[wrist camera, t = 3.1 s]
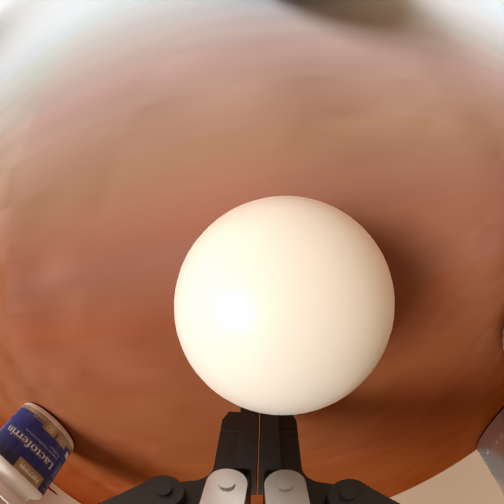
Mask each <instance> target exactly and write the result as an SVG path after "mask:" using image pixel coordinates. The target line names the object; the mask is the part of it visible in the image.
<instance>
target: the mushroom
mask: <svg viewBox="0 0 504 504" xmlns="http://www.w3.org/2000/svg"><path fill="white" fill-rule="evenodd" d="M502 343H503V349H504V327H503V331H502Z"/></svg>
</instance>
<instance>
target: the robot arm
mask: <svg viewBox="0 0 504 504" xmlns="http://www.w3.org/2000/svg"><path fill="white" fill-rule="evenodd" d="M258 439H259V413H258V412H255V411H251V410H248V409H245V408H243V407H241V412H228V414H227V415H226V416H225V417H224V419H223V420H222V425H221V431H220V436H219V442H218V448H217V453H216V459H215V464H214V468H213V470H212V472H211V473H210V474H209V475H208V476H206V477H205V478H203V479H200V480H196V481H188V482H179V481H178V480H177V479H175V478H173V477H170V476H156V477H153V478H151V479H149V480H147V481H145V482H144V483H142V484H140V485H138V486H136V487H134V488H132V489H130V490H128V491H125V492H123V493H121V494H119V495H117V496H115V497H112V498H110V499H108V500H106V501H103V502H101V503H98V504H251V495H256V492H257V467H258ZM477 450H478V452H479V453H480V455H481V456H482V458H483V460H484V461H485V463H486V465H487V466H488V468H489V470H490V471H491V473H492V475H493V477H494V478H495V480H496V482H497V483H498V485H499V487H500V489H501V491H502V492H503V494H504V408H503V409H502V411H501V412H500V413H499V414H498V415H497V416H496V418H495V419H494V420H493V421H492V423H491V424H490V425H489V426H488V428H487V429H486V430H485V432H484V433H483V435H482V436H481V438H480V440H479V442H478V444H477ZM258 495H263V504H399V503H397V502H396V501H394V500H392V499H390V498H388V497H386V496H384V495H383V494H381V493H379V492H377V491H376V490H374V489H372V488H370V487H369V486H367V485H365V484H364V483H362V482H360V481H358V480H354V479H345V480H341V481H339V482H337V483H335V484H327V483H320V482H316V481H313V480H311V479H309V478H308V477H307V476H306V475H305V474H304V473H303V471H302V468H301V459H300V450H299V440H298V432H297V423H296V420H295V418H294V417H293V415H270V414H263V413H260V440H259V473H258Z"/></svg>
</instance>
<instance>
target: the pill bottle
mask: <svg viewBox="0 0 504 504" xmlns="http://www.w3.org/2000/svg"><path fill="white" fill-rule="evenodd" d="M73 447H74V445H73V441H72V439H71V437H70V435H69V434H68V432H67V431H66V430H65V428H64V427H63V426H62V425H61V424H60V423H59V422H58V421H57V420H56V419H55V418H54V417H53V416H52V415H51V414H49V413H48V412H47V411H45V410H44V409H43V408H41V407H40V406H38V405H36V404H34V403H25V404H24V405H23V406H22V407H21V408H20V409H19V410H18V411H17V412H16V413H15V414H14V415H13V416H12V417H11V418H10V419H9V420H8V422H7V423H6V424H5V425H4V426H3V427H2V428H1V429H0V497H1V498H2V499H3V500H4V501H5V502H7V503H8V504H27V501H28V500H29V499H33V500H38V499H40V498H42V496H43V495H44V494H45V492H46V490H47V489H48V487H49V485H50V484H51V482H52V481H53V479H54V478H55V476H56V475H57V473H58V472H59V470H60V469H61V467H62V465H63V464H64V462H65V461H66V459H67V458H68V457H69V455H70V454H71V452H72V450H73Z"/></svg>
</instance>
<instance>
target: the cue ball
mask: <svg viewBox="0 0 504 504" xmlns="http://www.w3.org/2000/svg"><path fill="white" fill-rule="evenodd" d="M394 307H395V296H394V287H393V282H392V279H391V275H390V271H389V268H388V265H387V263H386V260H385V258H384V256H383V254H382V252H381V251H380V249H379V247H378V246H377V244H376V243H375V241H374V240H373V238H372V237H371V236H370V235H369V234H368V233H367V231H366V230H365V229H364V228H363V227H362V226H361V225H360V224H359V223H357V222H356V221H355V220H354V219H353V218H351V217H350V216H348V215H347V214H345V213H344V212H342V211H340V210H339V209H337V208H335V207H333V206H331V205H328V204H326V203H323V202H321V201H317V200H314V199H310V198H306V197H297V196H273V197H267V198H261V199H257V200H254V201H251V202H248V203H245V204H243V205H240V206H238V207H236V208H234V209H232V210H230V211H229V212H227V213H226V214H224V215H222V216H221V217H219V218H218V219H217V220H216V221H215V222H213V223H212V224H211V225H210V226H209V227H208V228H207V229H206V230H205V231H204V232H203V233H202V235H201V236H200V237H199V238H198V239H197V240H196V241H195V243H194V245H193V246H192V248H191V249H190V251H189V252H188V254H187V256H186V258H185V260H184V262H183V265H182V267H181V270H180V273H179V277H178V280H177V284H176V289H175V297H174V316H175V324H176V330H177V334H178V337H179V340H180V344H181V346H182V349H183V351H184V353H185V355H186V357H187V359H188V361H189V363H190V364H191V366H192V367H193V369H194V370H195V372H196V373H197V374H198V375H199V376H200V378H201V379H202V380H203V381H204V382H205V383H206V384H207V385H208V386H209V387H210V388H211V389H212V390H214V391H215V392H216V393H217V394H219V395H220V396H222V397H223V398H225V399H226V400H228V401H230V402H232V403H234V404H236V405H238V406H240V407H243V408H245V409H248V410H251V411H255V412H258V413H263V414H270V415H296V414H302V413H307V412H311V411H315V410H318V409H321V408H324V407H327V406H329V405H331V404H333V403H335V402H337V401H339V400H340V399H342V398H344V397H345V396H347V395H348V394H349V393H351V392H352V391H353V390H355V389H356V388H357V387H358V386H359V385H360V384H361V383H362V382H363V381H364V380H365V379H366V378H367V377H368V375H369V374H370V373H371V372H372V371H373V369H374V368H375V366H376V365H377V363H378V362H379V360H380V359H381V357H382V355H383V353H384V350H385V348H386V346H387V343H388V340H389V337H390V334H391V331H392V326H393V321H394Z"/></svg>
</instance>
